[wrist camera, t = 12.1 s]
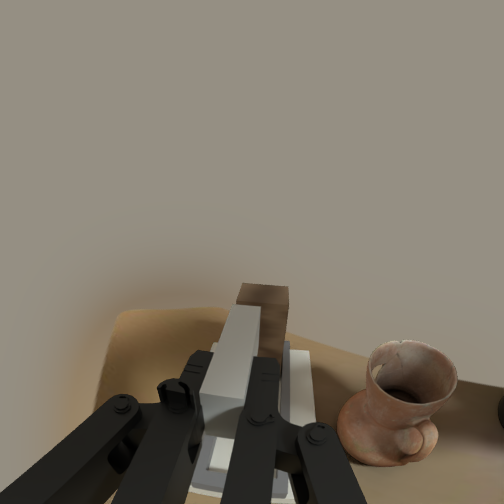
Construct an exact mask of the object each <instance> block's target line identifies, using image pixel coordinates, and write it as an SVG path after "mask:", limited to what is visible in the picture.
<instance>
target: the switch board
mask: <svg viewBox="0 0 504 504" xmlns="http://www.w3.org/2000/svg"><path fill="white" fill-rule="evenodd" d="M217 344H218V343H216V342H214V343H213V345H212V348H211V350H210V352H215V349H216V347H217ZM278 411H279V413H280V415H281V416H282V418H283V419H285V420H286V421H288V422H290V423H292V424H295V425H298V426H302V427H303V426H304V425H306V424H309V423H312V422H316V418H315V406H314V395H313V384H312V374H311V365H310V356H309V351H305V350H290V341H284V348H283V355H282V362H281V369H280V381H279V399H278ZM233 444H234V439H227V438H220V437H214V436H209V435H205V430H204V432H203V435H202V448H201V451H200V455H199V458H198V461H197V465H196V468H195V471H194V474H193V478H192V481H191V484H190V487H189V492H194V493H198V494H203V495H208V496H214V497H220V498H222V494H223V489H224V485H225V480H226V476H227V471H228V467H229V462H230V458H231V453H232V449H233ZM271 503H288V504H296V503H295V500H294V496H293V492H292V488H291V485H290V481H289V477H288V473H287V472H284V471H281V470H278V469H275V468H274V479H273V489H272V499H271Z"/></svg>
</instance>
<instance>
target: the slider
mask: <svg viewBox="0 0 504 504" xmlns="http://www.w3.org/2000/svg"><path fill="white" fill-rule="evenodd" d="M236 305H248V306H259V307H261V312H260V329H259V345H258V353H257V357H269V358H276V359H277V361H278V363H279V364H280V369H281V362H282V355H283V348H284V340H285V333H286V324H287V317H288V309H289V293H288V287H285V286H273V285H261V284H248V283H242V286H241V289H240V292H239V295H238V297H237V301H236Z"/></svg>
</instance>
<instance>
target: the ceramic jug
mask: <svg viewBox="0 0 504 504" xmlns="http://www.w3.org/2000/svg"><path fill="white" fill-rule="evenodd" d="M381 364H382V367H381V369H380V370H379V372H378V374H377V376H376V379H374V378H373V376H372V370H373V369H374V367H376V366H377V365H381ZM457 381H458V379H457V372H456V368H455V366H454V365H453V363H452V361H451V360H450V359H449V358H448V357H447V356H446V355H445V354H444V353H442V352H441V351H439V350H438V349H436V348H434V347H432V346H430V345H428V344H425V343H422V342H418V341H414V340H402V341H401V342H398V341H396V340H393V341H389V342H386V343H384V344H381V345H380V346H378V347H377V348H376V349H375V350H374V351H373V353H372V354H371V356H370V359H369V361H368V366H367V373H366V389H364V390H362V391H360V392H358V393H356V394H355V395H353V396H352V397H351V398H350V399H349V400H348V401H347V402H346V403H345V404H344V405H343V407H342V409H341V410H340V413H339V416H338V420H337V432H338V437H339V439H340V442H341V444H342V445H343V447H344V448H345V450H346V451H347V452H348V453H349V454H350V455H351V456H352V457H354V458H355V459H357V460H358V461H360V462H362V463H364V464H367V465H371V466H376V467H392V466H402V465H406V464H407V463H409V462H417V461H420V460H422V459H424V458H425V457H426V456H428V455H429V454H430V453H431V451H432V450H433V448H434V447H435V445H436V443H437V440H438V431H437V428H436V426H435V425H434V424H433V423H432V422H431V421H430V416H431V415H432V414H434V413H435V412H436V411H437V410H438V409H440V408H441V407H442V406H443V405H444V404H445V402H446V401H447V400H448V399H449V398H450V397H451V395H452V394H453V392H454V391H455V389H456V386H457Z"/></svg>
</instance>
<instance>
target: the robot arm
mask: <svg viewBox="0 0 504 504" xmlns="http://www.w3.org/2000/svg"><path fill="white" fill-rule="evenodd" d="M260 312H261V307H259V306H248V305H236V304H233V305H232V307H231V310H230V312H229V315H228V318H227V320H226V323H225V326H224V328H223V331H222V334H221V336H220V339H219V341H218V344H217V347H216V349H215V352H208V351H201V350H197V351H196V352H195V353H194V354H192V355H191V356H190V358H189V360H188V362H187V365H186V366H185V368H184V371H183V372H182V374H181V376H180V378H179V379H175V378H173V379H168V380H165V381H163V382H161V383H160V384H159V385H158V386H157V390H158V394H159V397H160V401H161V402H159V403H138V401H137V399H135V398H134V397H133V396H131V395H128V394H119V395H115V396H113V397H112V398H110V399H109V400H108V401H106V402H105V403H104V404H103V405H102V406H101V407H100V408H99V409H97V410H96V411H95V412H94V413H93V414H92V415H91V416H89V417H88V418H87V419H86V420H85V421H84V422H83V423H82V424H80V425H79V426H78V427H77V428H76V429H75V430H74V431H72V432H71V433H70V434H69V435H68V436H67V437H66V438H64V439H63V440H62V441H61V442H60V443H59V444H57V445H56V446H55V447H54V448H53V449H52V450H51V451H49V452H48V453H47V454H46V455H45V456H43V457H42V458H41V459H40V460H39V461H38V462H37V463H35V464H34V465H33V466H32V467H31V468H29V469H28V470H27V471H26V472H25V473H24V474H22V475H21V476H20V477H19V478H18V479H16V480H15V481H14V482H13V483H12V484H10V485H9V486H8V487H7V488H6V489H4V490H3V491H2V492H1V493H0V504H104V503H105V502H106V501H107V500H108V499H109V498H110V497H111V495H112V494H113V493H114V492H115V491H116V490H117V489H118V490H117V492H116V494H115V496H114V498H113V500H112V503H111V504H184V503H185V500H186V497H187V494H188V491H189V487H190V484H191V481H192V478H193V474H194V471H195V468H196V465H197V461H198V458H199V455H200V451H201V448H202V435H203V432H204V430H205V435H209V436H214V437H220V438H227V439H234V444H233V449H232V453H231V458H230V462H229V467H228V471H227V476H226V480H225V485H224V489H223V494H222V498H221V502H220V504H271V499H272V489H273V479H274V468H275V469H278V470H281V471H284V472H287V473H288V477H289V481H290V485H291V488H292V492H293V496H294V500H295V503H296V504H367V502H366V500H365V497H364V495H363V493H362V490H361V488H360V486H359V484H358V481H357V479H356V477H355V475H354V472H353V470H352V468H351V466H350V463H349V461H348V459H347V457H346V454H345V452H344V450H343V447H342V445H341V443H340V441H339V438H338V436H337V434H336V432H335V431H334V429H333V428H332V427H330V426H329V425H327V424H324V423H320V422H312V423H309V424H306V425H304V426H303V427H302V426H298V425H295V424H292V423H290V422H288V421H286V420H285V419H283V418H282V416H281V415H280V413H279V411H278V399H279V381H280V364H279V363H278V361H277V359H276V358H269V357H257V353H258V345H259V329H260ZM498 413H499V418H500V421H501V424H502V426H503V427H504V396H503V398H502V399H501V401H500V403H499V408H498Z"/></svg>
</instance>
